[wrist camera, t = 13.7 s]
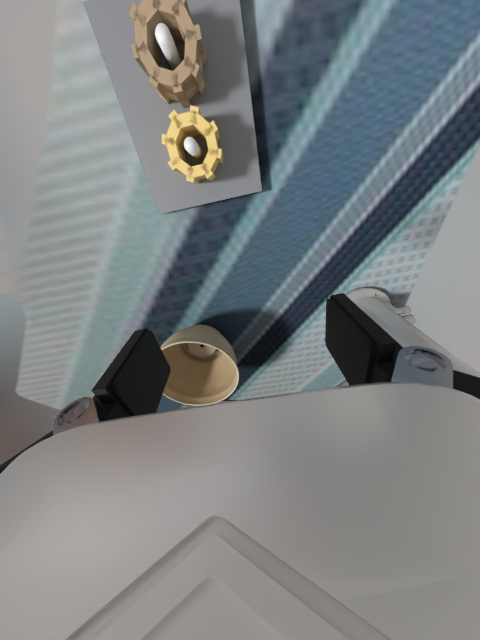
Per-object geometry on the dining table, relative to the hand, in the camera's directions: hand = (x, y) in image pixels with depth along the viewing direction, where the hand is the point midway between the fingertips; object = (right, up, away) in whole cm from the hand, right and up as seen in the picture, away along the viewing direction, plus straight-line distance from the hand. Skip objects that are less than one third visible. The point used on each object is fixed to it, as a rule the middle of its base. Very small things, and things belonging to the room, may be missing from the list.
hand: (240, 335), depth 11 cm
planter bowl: (-9, -4, +36) cm, 37 cm away
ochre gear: (-6, +24, +17) cm, 30 cm away
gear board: (-7, +28, +16) cm, 33 cm away
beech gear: (-7, +30, +13) cm, 34 cm away
